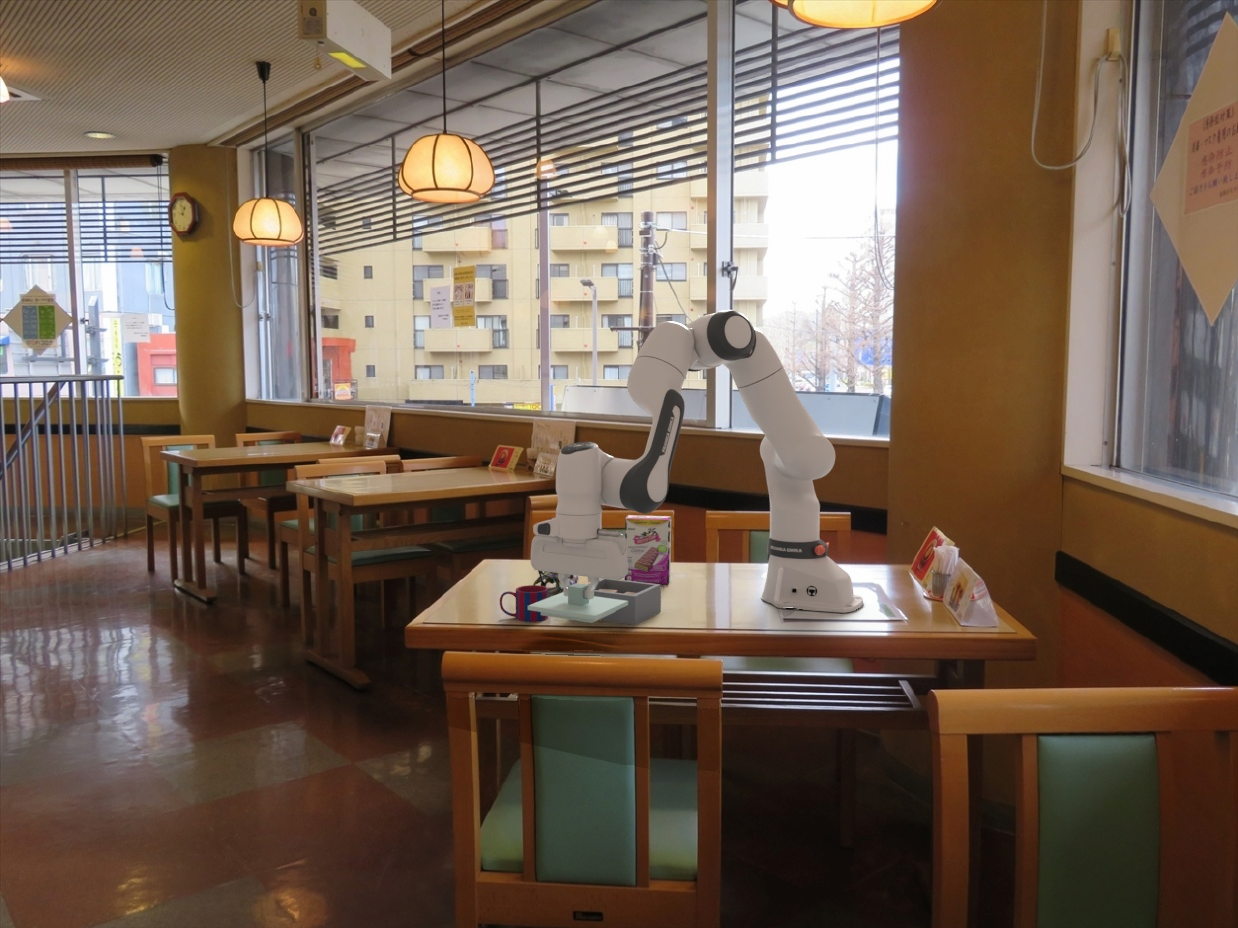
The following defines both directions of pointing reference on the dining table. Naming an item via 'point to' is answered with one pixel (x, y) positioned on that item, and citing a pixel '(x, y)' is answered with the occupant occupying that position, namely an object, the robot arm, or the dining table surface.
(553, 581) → the passion flower
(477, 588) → the dining table surface
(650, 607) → the box
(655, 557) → the candy bar box
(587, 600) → the lid
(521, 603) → the mug
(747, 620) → the dining table surface
